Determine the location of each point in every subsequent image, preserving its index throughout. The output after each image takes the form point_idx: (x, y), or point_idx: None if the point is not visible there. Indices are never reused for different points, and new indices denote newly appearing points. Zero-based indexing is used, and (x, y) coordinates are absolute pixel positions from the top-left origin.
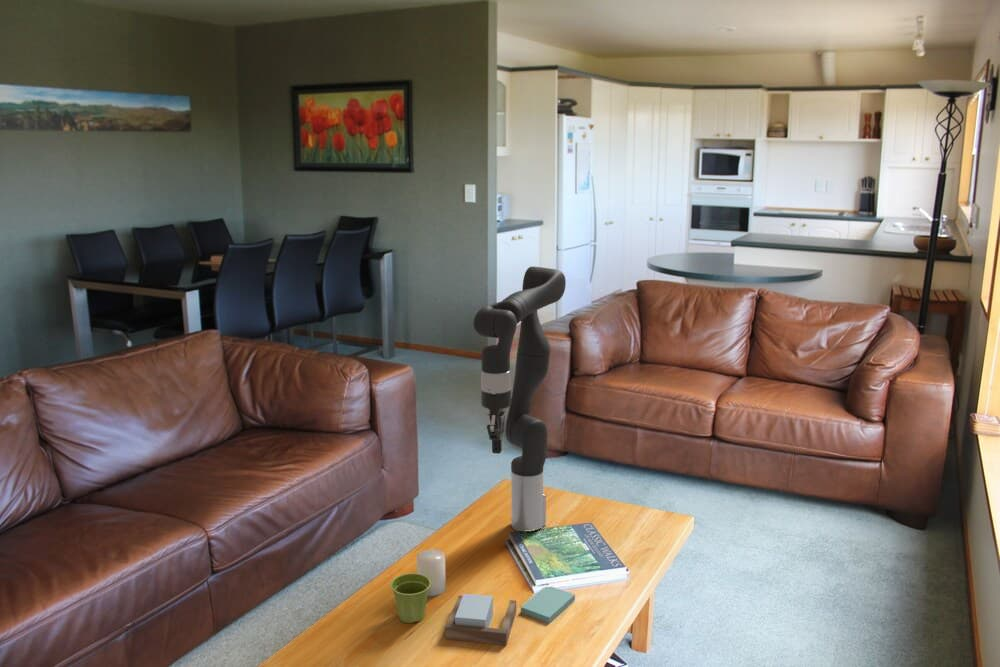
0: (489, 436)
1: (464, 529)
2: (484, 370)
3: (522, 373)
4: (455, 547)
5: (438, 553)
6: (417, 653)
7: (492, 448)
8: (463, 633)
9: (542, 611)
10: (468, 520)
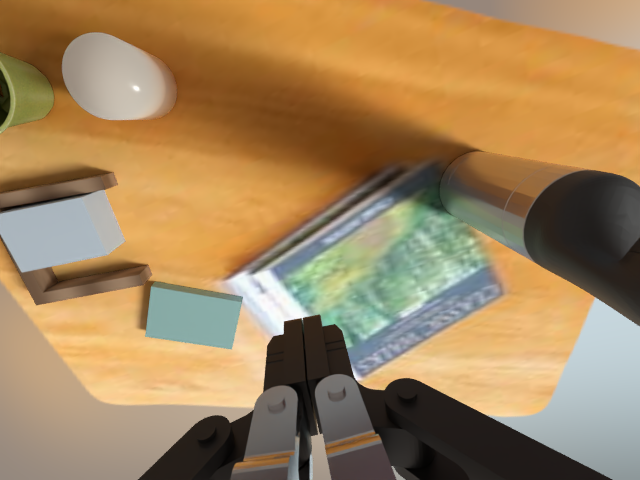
0: (148, 474)
1: (427, 48)
2: None
3: None
4: (336, 63)
5: (130, 93)
6: None
7: (284, 337)
8: None
9: (156, 321)
10: (475, 39)
